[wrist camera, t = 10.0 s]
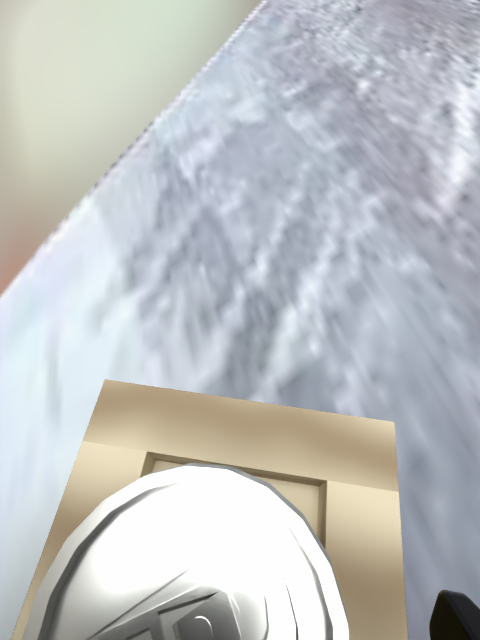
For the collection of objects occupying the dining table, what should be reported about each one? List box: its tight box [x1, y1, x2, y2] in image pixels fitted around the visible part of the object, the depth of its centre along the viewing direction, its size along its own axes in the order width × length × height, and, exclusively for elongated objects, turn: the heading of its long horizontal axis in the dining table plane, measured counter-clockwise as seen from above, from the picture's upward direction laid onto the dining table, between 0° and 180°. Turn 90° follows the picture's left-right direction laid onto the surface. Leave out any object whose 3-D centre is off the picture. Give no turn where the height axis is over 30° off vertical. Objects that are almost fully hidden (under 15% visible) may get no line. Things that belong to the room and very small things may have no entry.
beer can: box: [22, 463, 349, 640], centre depth 11 cm, size 5×5×12 cm
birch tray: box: [11, 380, 408, 640], centre depth 16 cm, size 14×14×4 cm
